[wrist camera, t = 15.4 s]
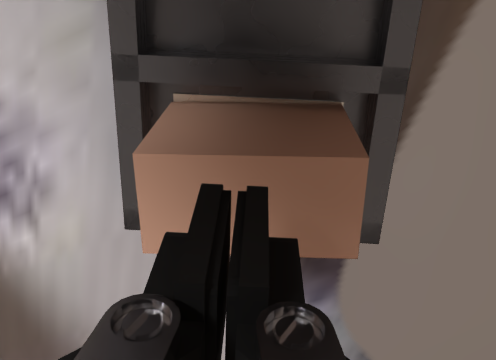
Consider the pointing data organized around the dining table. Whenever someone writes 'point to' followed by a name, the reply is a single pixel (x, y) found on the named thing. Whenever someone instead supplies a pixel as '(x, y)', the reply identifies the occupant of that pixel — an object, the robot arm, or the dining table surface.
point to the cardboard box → (256, 170)
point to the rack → (265, 70)
